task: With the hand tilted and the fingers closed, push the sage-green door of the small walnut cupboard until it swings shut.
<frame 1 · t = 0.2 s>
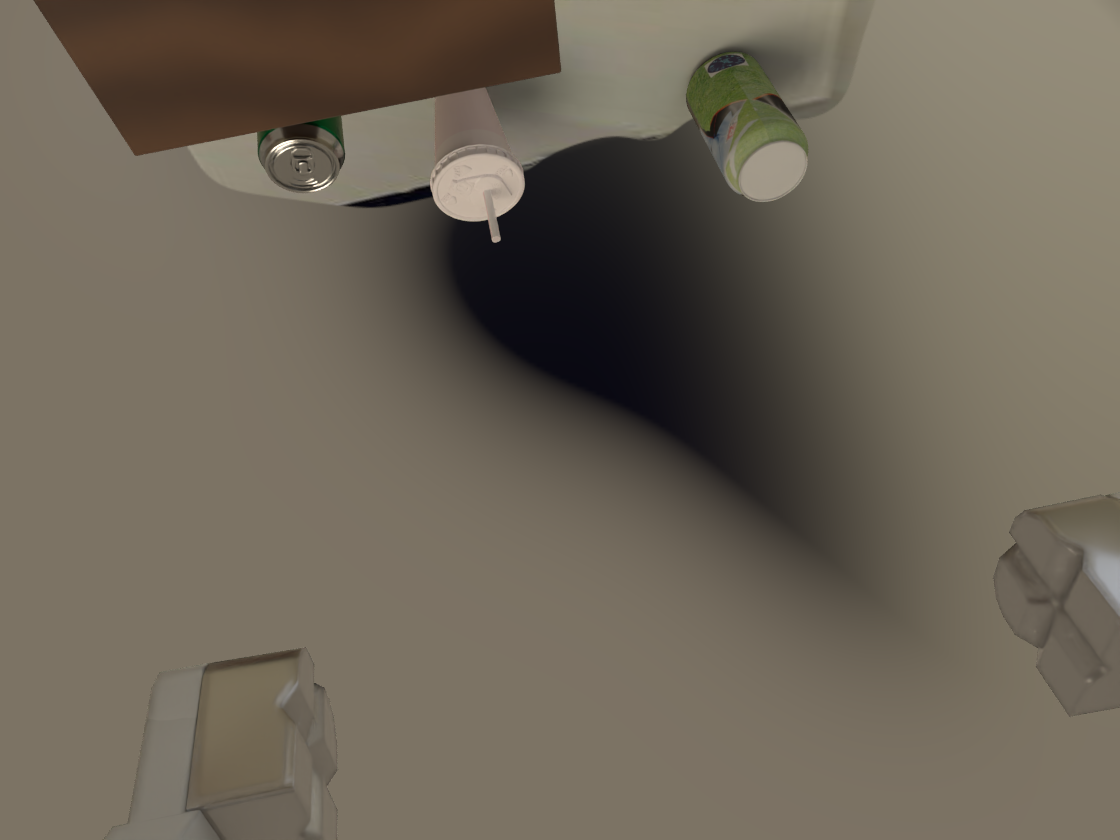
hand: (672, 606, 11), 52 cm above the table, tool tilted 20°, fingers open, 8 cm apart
soda can: (293, 34, 61), on the table
smoothie: (460, 90, 68), on the table
beverage can: (722, 69, 71), on the table
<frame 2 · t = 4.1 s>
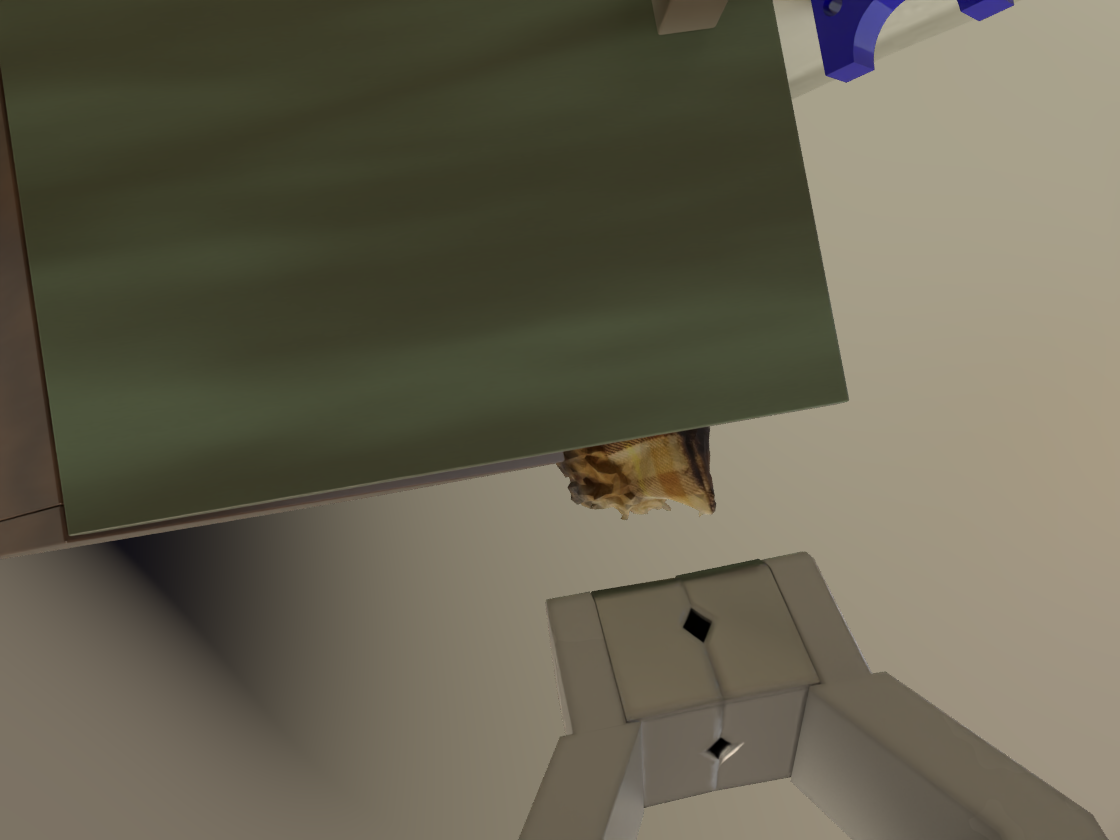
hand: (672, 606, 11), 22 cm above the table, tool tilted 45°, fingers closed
cupboard: (185, 14, 37), on the table
door: (401, 53, 22), point 10 cm above the table, hinge at 45.0°
plaid cloth bag: (600, 88, 52), on the table
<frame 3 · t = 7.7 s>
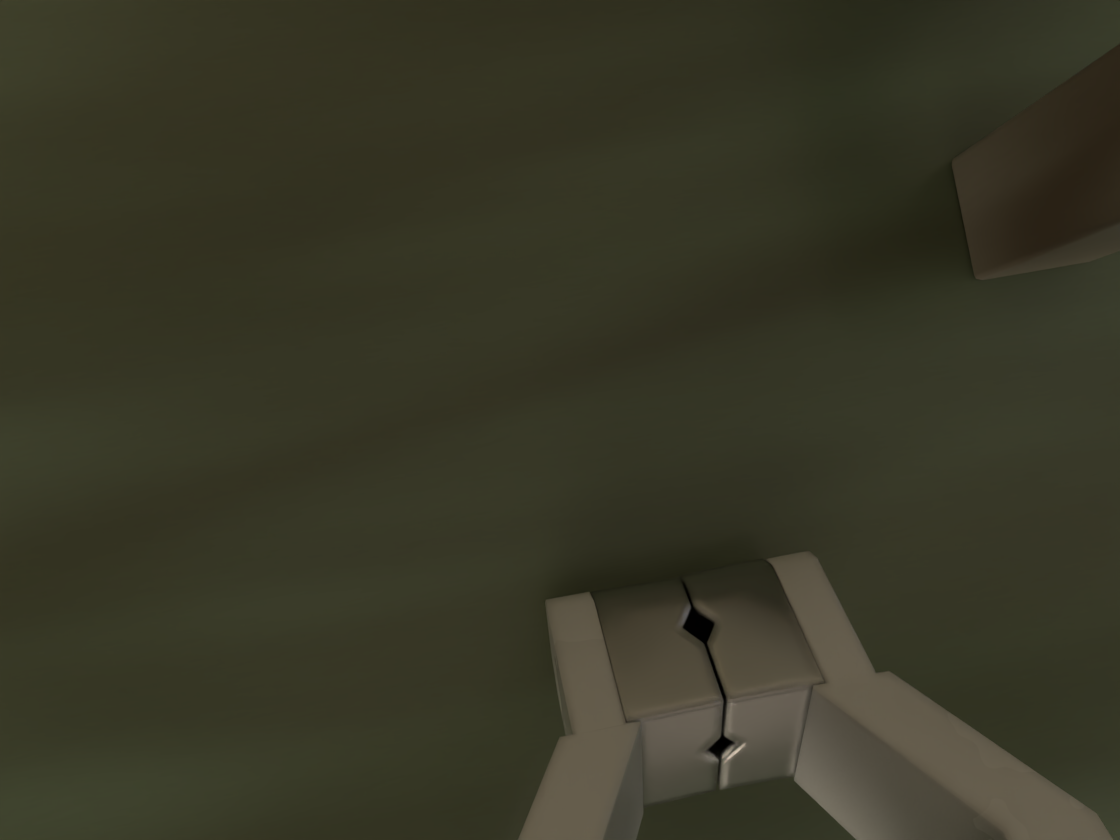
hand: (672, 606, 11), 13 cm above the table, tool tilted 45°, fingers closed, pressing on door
door: (444, 403, 9), point 10 cm above the table, hinge at 43.2°, touching gripper
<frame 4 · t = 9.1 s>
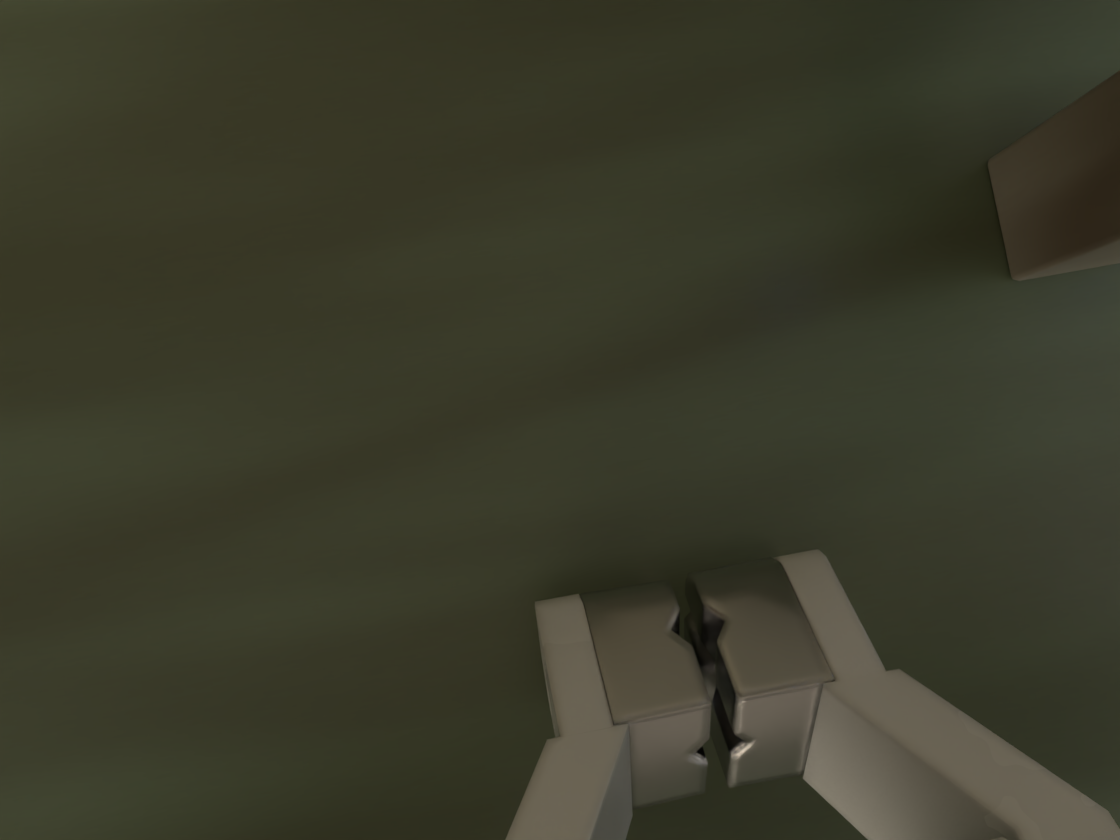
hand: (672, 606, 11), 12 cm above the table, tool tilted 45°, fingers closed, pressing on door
door: (483, 407, 9), point 10 cm above the table, hinge at 16.4°, touching gripper
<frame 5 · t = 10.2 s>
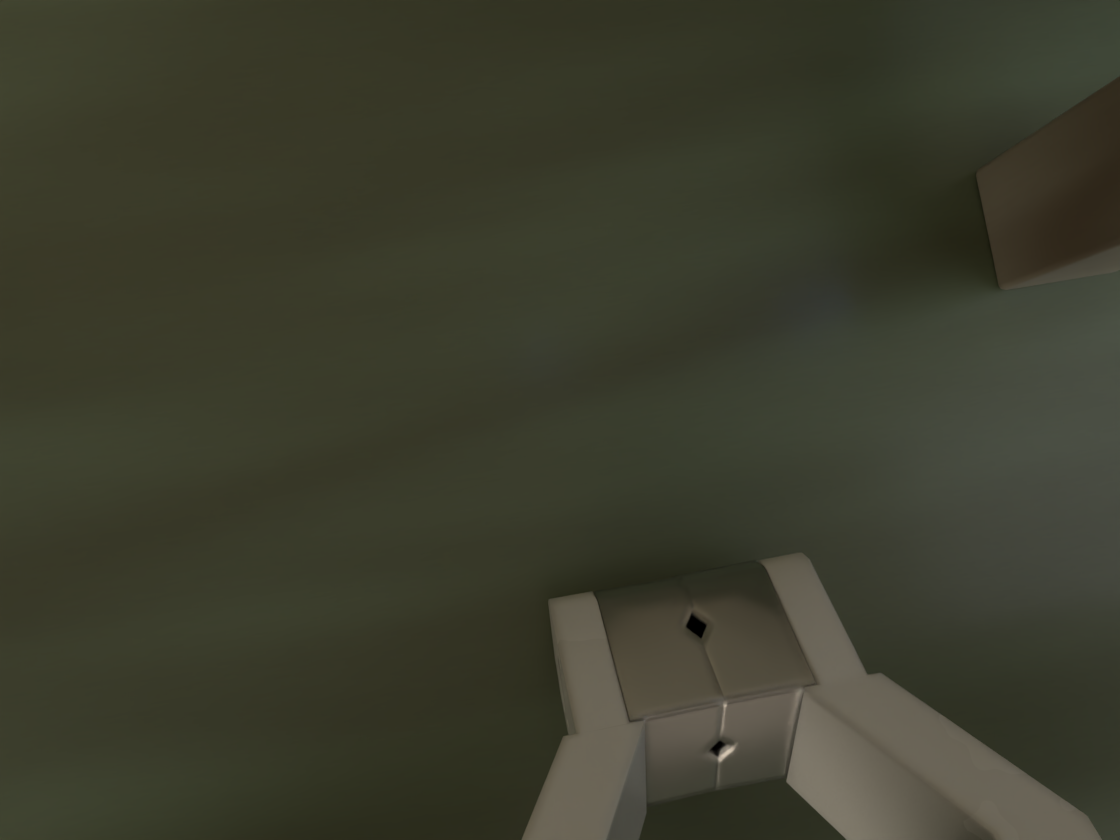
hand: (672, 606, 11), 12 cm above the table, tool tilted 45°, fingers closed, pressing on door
door: (478, 408, 9), point 10 cm above the table, hinge at 0.0°, touching gripper
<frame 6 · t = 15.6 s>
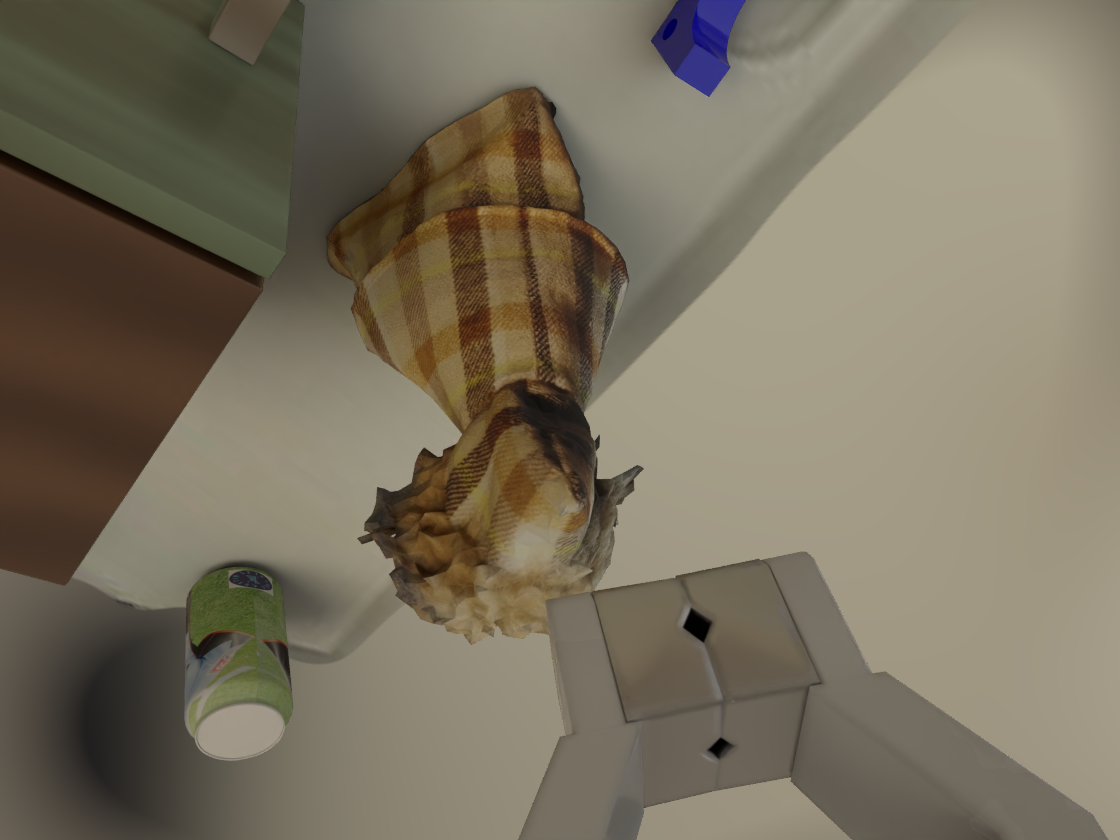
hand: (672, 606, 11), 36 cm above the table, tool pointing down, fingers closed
beverage can: (244, 579, 62), on the table
plaid cloth bag: (481, 228, 48), on the table
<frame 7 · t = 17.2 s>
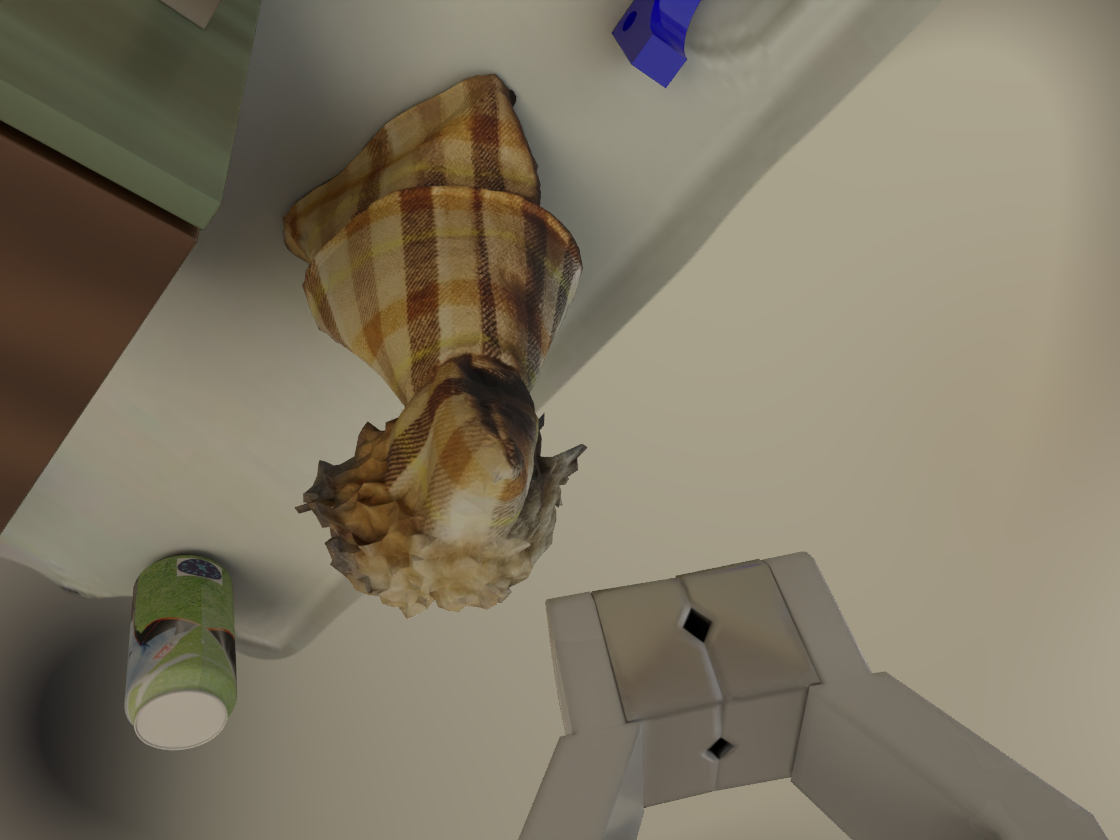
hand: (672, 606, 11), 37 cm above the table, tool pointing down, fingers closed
beverage can: (193, 569, 62), on the table
plaid cloth bag: (440, 215, 48), on the table
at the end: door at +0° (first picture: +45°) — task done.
